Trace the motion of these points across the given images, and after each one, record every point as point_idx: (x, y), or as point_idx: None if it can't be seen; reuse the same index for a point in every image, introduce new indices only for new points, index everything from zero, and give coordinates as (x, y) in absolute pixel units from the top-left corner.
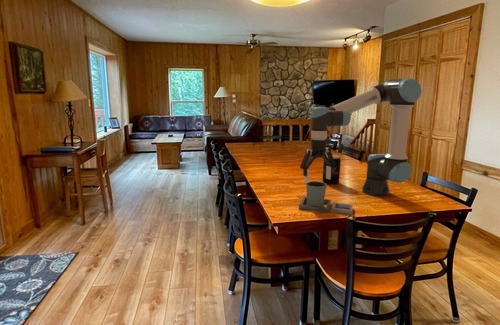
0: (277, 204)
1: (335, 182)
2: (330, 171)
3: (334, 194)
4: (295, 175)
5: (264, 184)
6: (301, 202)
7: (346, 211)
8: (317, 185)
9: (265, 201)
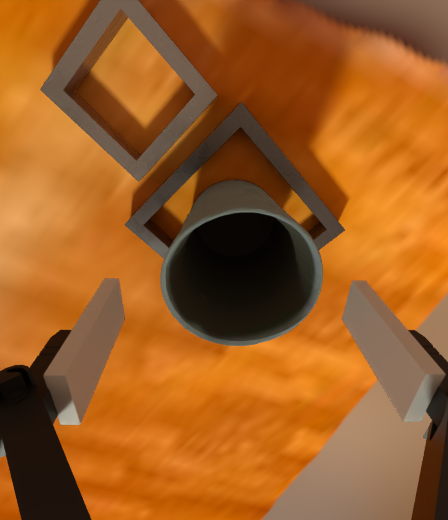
0: None
1: None
2: (75, 330)
3: (33, 310)
4: None
5: (248, 481)
6: None
7: (149, 14)
8: (195, 304)
9: None
